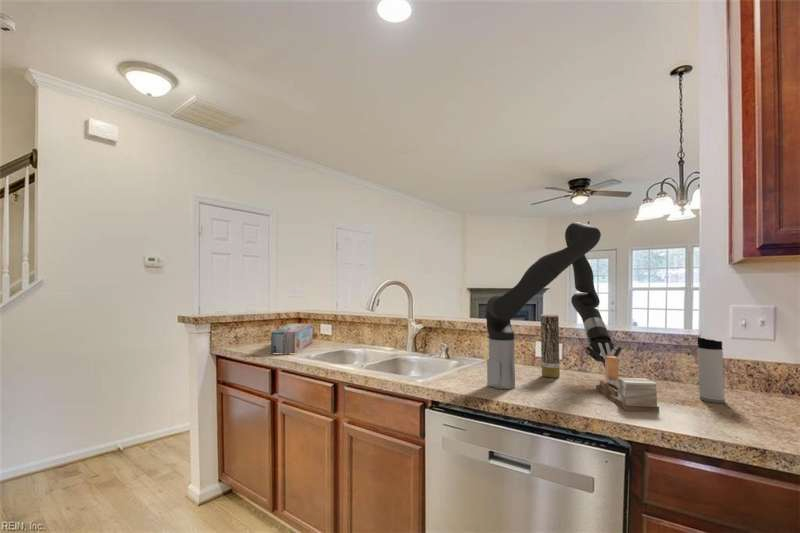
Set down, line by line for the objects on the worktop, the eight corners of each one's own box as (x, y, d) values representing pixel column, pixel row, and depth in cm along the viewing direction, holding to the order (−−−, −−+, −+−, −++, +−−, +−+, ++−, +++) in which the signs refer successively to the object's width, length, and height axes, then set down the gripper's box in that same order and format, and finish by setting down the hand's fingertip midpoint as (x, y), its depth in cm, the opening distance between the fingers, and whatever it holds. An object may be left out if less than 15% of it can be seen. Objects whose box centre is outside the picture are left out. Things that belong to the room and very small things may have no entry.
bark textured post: (556, 374, 157) (555, 314, 158) (562, 378, 150) (560, 315, 151) (539, 374, 157) (538, 314, 159) (544, 378, 151) (543, 315, 152)
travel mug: (693, 397, 124) (691, 336, 125) (712, 397, 125) (709, 336, 126) (710, 403, 118) (708, 339, 119) (730, 403, 118) (727, 339, 119)
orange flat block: (632, 395, 120) (631, 363, 121) (621, 394, 121) (620, 363, 122) (615, 384, 133) (614, 356, 134) (605, 384, 134) (604, 356, 134)
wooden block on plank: (659, 412, 110) (658, 383, 111) (626, 410, 111) (625, 382, 112) (622, 389, 134) (622, 366, 134) (596, 388, 135) (595, 365, 136)
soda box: (291, 343, 244) (291, 323, 244) (313, 343, 244) (313, 323, 244) (269, 355, 203) (270, 330, 204) (295, 355, 203) (296, 330, 204)
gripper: (612, 337, 149) (627, 376, 136) (576, 337, 151) (588, 375, 138) (617, 325, 144) (633, 365, 131) (580, 325, 146) (593, 364, 133)
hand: (610, 370), depth 134 cm, fingers closed
